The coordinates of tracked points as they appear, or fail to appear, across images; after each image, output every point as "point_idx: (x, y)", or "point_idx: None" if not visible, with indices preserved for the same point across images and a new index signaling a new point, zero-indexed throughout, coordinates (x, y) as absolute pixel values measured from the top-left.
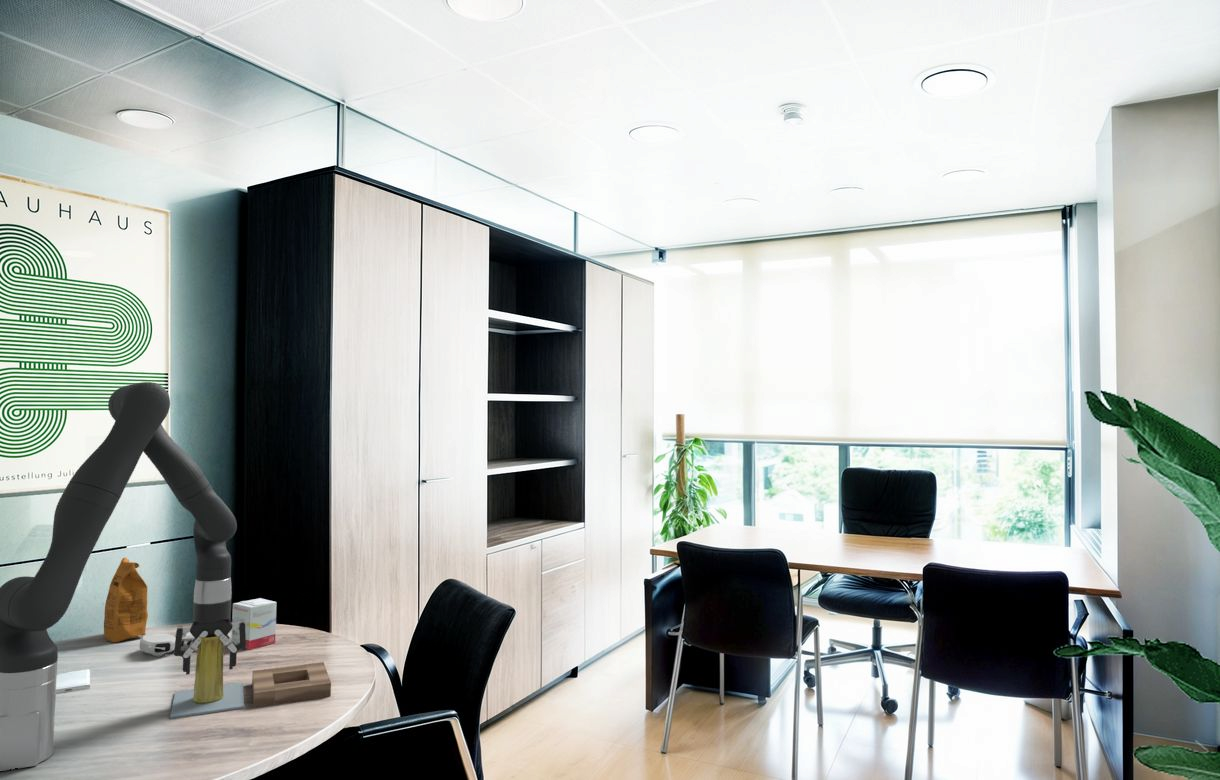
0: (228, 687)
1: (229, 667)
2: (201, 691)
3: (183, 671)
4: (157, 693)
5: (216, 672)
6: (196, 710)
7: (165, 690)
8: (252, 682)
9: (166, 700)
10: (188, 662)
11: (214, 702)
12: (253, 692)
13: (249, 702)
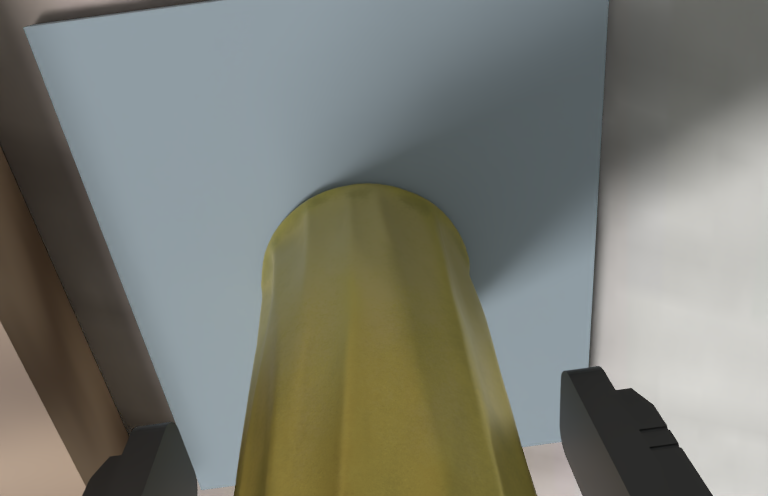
0: None
1: (162, 434)
2: (412, 240)
3: (636, 392)
4: None
5: (284, 352)
6: (414, 39)
7: None
8: None
9: (626, 338)
10: (634, 468)
11: (304, 186)
12: (13, 252)
13: (38, 160)
